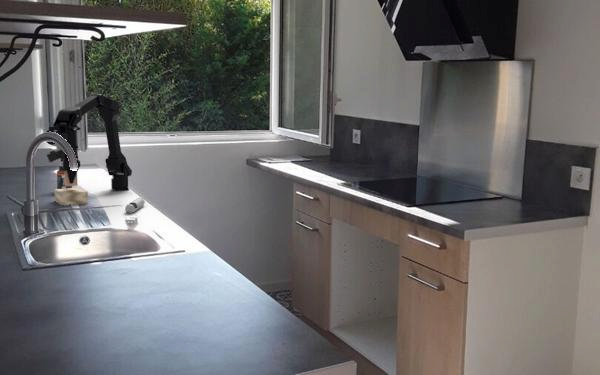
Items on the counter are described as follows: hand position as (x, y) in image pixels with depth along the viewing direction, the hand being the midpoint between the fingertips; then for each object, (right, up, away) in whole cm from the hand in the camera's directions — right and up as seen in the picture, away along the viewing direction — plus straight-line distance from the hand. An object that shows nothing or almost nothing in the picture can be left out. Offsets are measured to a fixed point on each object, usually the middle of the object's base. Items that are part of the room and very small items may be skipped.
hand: (70, 182), depth 249 cm
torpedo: (+27, -11, -8) cm, 30 cm away
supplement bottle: (-11, -4, +23) cm, 25 cm away
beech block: (0, -8, +1) cm, 8 cm away
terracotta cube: (0, -1, 0) cm, 1 cm away
